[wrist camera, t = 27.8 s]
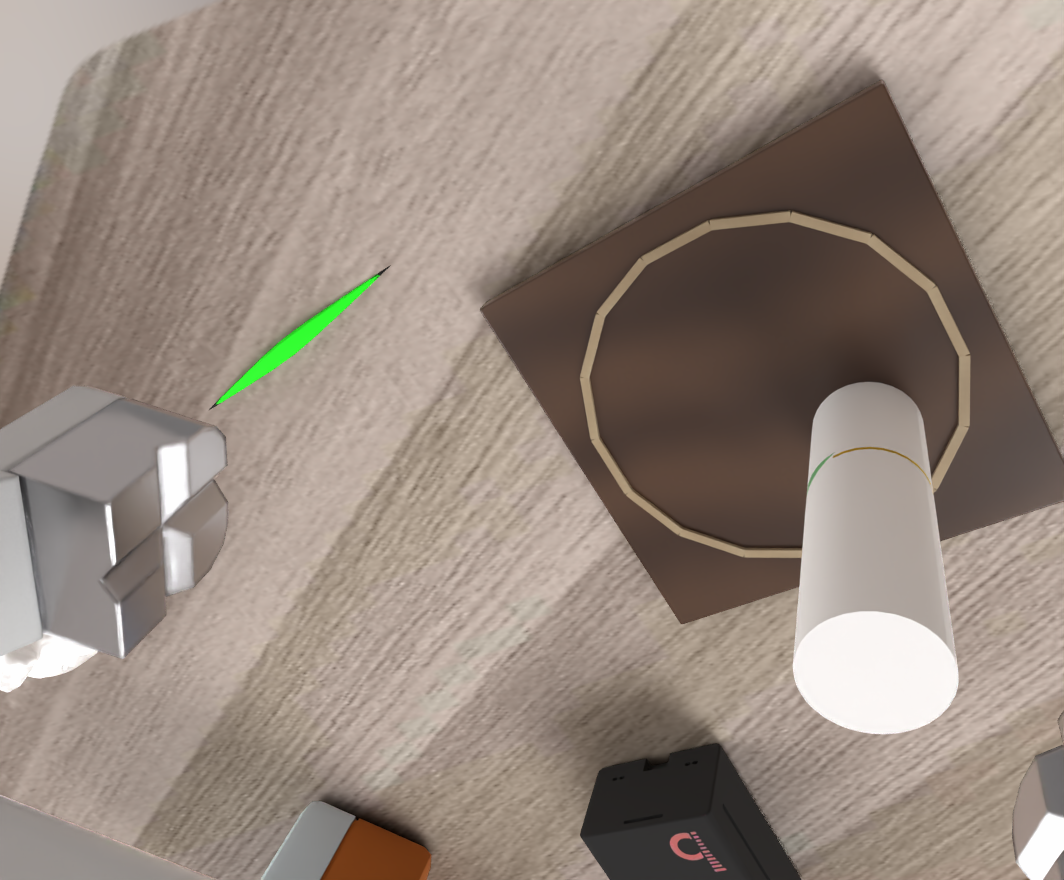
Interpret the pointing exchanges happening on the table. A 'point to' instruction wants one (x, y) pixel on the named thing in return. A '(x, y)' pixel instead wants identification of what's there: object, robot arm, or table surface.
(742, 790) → the electronic device
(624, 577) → the table surface
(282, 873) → the alarm clock
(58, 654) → the white tied bag
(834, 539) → the tube
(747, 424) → the board
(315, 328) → the leaf
